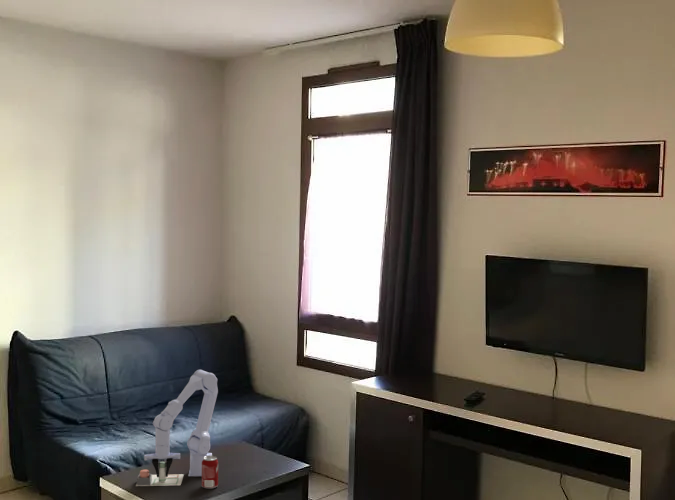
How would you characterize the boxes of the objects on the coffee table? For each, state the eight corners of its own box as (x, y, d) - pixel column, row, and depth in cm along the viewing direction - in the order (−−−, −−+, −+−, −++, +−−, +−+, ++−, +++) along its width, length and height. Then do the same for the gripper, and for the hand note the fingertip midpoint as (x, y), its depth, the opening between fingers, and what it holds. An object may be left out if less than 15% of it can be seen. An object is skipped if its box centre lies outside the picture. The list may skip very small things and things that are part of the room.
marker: (166, 479, 318) (166, 461, 317) (166, 481, 315) (166, 463, 314) (158, 479, 317) (158, 461, 317) (158, 482, 314) (158, 464, 314)
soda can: (214, 490, 308) (214, 461, 307) (198, 488, 309) (199, 459, 309) (220, 484, 314) (220, 455, 314) (205, 483, 316) (205, 454, 315)
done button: (149, 477, 316) (149, 469, 316) (148, 481, 312) (148, 472, 312) (140, 478, 315) (140, 469, 315) (139, 481, 312) (139, 472, 312)
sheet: (183, 474, 325) (183, 474, 325) (180, 485, 312) (180, 484, 312) (141, 475, 323) (140, 474, 323) (135, 486, 311) (135, 485, 311)
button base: (151, 480, 317) (151, 473, 317) (149, 485, 312) (149, 478, 311) (139, 481, 316) (139, 473, 316) (136, 485, 311) (137, 478, 311)
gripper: (180, 440, 320) (180, 472, 321) (145, 441, 318) (144, 473, 318) (180, 445, 314) (180, 477, 314) (144, 447, 311) (143, 479, 311)
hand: (162, 476), depth 316 cm, fingers closed on marker, 3 cm apart
